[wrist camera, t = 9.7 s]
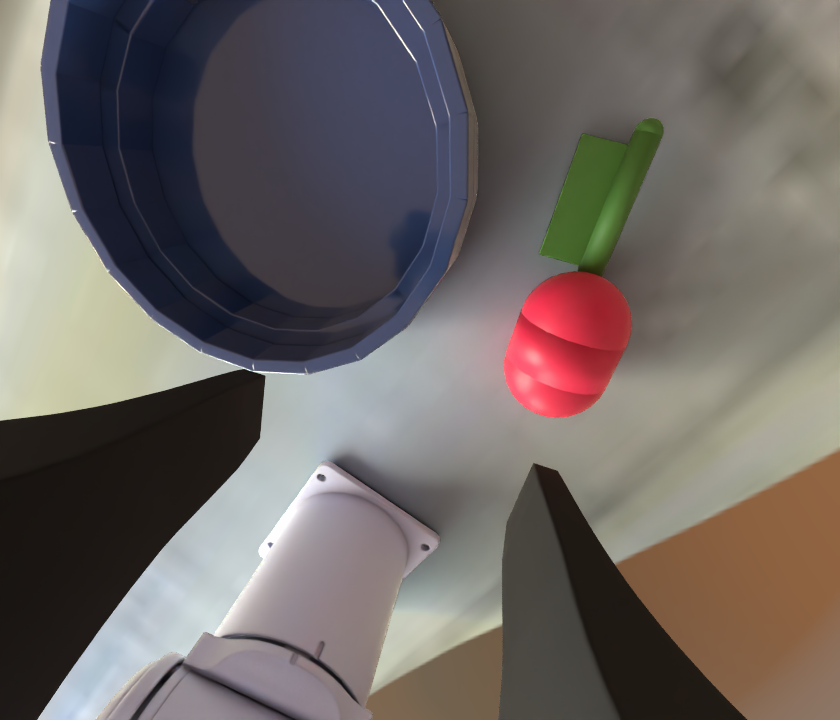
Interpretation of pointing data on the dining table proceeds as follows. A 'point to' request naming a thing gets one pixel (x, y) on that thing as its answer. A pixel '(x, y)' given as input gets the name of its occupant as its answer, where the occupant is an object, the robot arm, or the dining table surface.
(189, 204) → the bowl
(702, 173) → the dining table surface
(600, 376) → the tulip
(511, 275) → the dining table surface
